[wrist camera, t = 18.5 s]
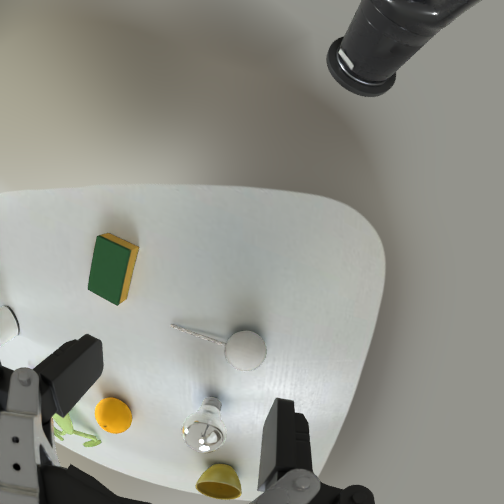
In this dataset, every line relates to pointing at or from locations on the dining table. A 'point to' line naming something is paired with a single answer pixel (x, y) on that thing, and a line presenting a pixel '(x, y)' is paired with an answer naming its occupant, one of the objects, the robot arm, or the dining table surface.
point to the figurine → (72, 430)
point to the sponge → (112, 268)
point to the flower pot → (219, 482)
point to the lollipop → (240, 349)
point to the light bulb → (205, 427)
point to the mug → (7, 325)
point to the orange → (113, 415)
